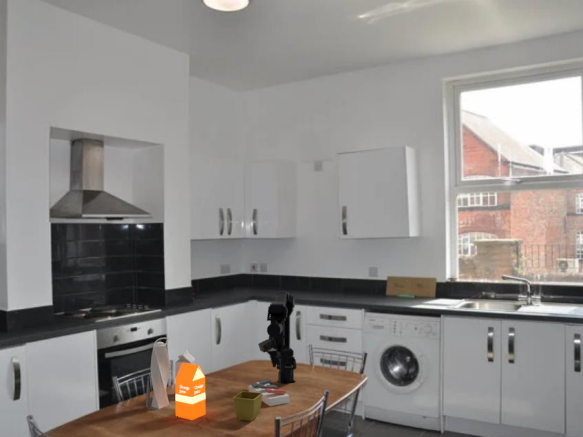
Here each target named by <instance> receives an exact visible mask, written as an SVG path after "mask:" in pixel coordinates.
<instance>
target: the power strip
mask: <svg viewBox="0 0 583 437" xmlns="http://www.w3.org/2000/svg"><path fill="white" fill-rule="evenodd" d="M265 385H271V384H270V383H268V384H265ZM248 392H257V393H262V401H261V402H263V403H264V404H266V405H268V406H269V407H273V406H279V405H280V406H281V405H284V404H290V394H288V393H286V394H282V393H268V392H266V391H265V389H261V388H260V387H257V388H254V387H253V386H252V384H251V385H248Z"/></svg>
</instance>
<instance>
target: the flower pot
mask: <svg viewBox="0 0 583 437" xmlns="http://www.w3.org/2000/svg"><path fill="white" fill-rule="evenodd" d="M232 398H233V408H234V413H235V415H236V416H237V418H238V420H239V421H248V422H252V421H254V420H255V419H256V418H257V417H258V415H259V413H260V410H261V406H262V402H263V401H262V393H257V392H249V391H243V390H241V391H240V392H238V393H237V394H236V395H234V396H233V397H232Z"/></svg>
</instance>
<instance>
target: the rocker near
mask: <svg viewBox="0 0 583 437" xmlns="http://www.w3.org/2000/svg"><path fill="white" fill-rule="evenodd" d="M270 383H272V379H270V378H264V379H262V380H259V381H255V382H252V383H251V385H252V386H253V387H254V388H257V387H258V385H259V384H262V385H265V384H270Z"/></svg>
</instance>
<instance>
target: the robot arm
mask: <svg viewBox="0 0 583 437" xmlns="http://www.w3.org/2000/svg"><path fill="white" fill-rule="evenodd" d="M295 303H296V302H295V297H294V296H292V295H291V294H290V292H288V291H278V293H277V296H276V299H275V301H273V302H270V304H269V305H268V307H267V308H268V309H267V316H266V321H268V322H269V321H270V323H269V325H268V326H267V327H266V333H267V334H268V338H267V339H265V340H263V341H262V342H259V343H257V344H258V348H259V351H260V352H262V353H267V354H268V355H269V358H270V362H271V364H272V368H276V370H278V374H277V376H278V377H277V378H278V379H277V381H278V382H279V383H281V384H289V383H295V382H296V380H294V379H295V377H294V375H295V374H294V373H295V372H294V371H295V370H296V369H297V359H296V358H295V355H294V349H293V348H291V316H292V314H293V312H294V308H295V306H296V304H295Z"/></svg>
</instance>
